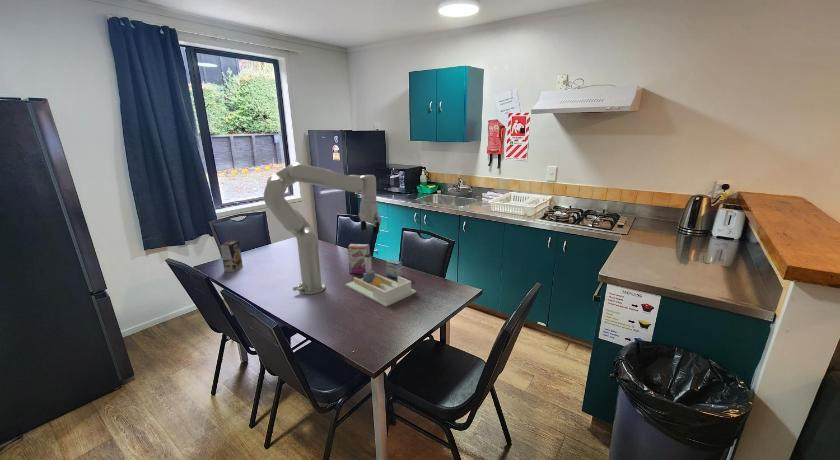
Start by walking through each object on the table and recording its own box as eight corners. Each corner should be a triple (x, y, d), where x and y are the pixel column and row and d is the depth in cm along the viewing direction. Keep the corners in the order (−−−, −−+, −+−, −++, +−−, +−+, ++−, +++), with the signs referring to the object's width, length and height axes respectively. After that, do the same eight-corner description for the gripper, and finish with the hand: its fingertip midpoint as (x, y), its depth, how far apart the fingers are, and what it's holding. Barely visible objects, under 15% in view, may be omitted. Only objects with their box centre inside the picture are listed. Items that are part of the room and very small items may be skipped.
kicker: (366, 283, 178) (365, 256, 174) (362, 282, 180) (361, 254, 176) (375, 280, 182) (374, 253, 178) (371, 278, 185) (370, 252, 180)
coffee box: (235, 271, 198) (230, 245, 193) (224, 271, 198) (219, 245, 193) (243, 265, 206) (239, 240, 202) (232, 265, 206) (228, 240, 202)
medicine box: (386, 276, 191) (385, 261, 189) (390, 273, 195) (390, 259, 193) (398, 278, 188) (397, 264, 186) (402, 276, 192) (402, 261, 189)
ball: (376, 288, 174) (376, 280, 173) (370, 285, 177) (370, 277, 176) (383, 285, 177) (382, 277, 176) (377, 283, 180) (377, 275, 179)
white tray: (385, 306, 158) (385, 295, 157) (345, 285, 180) (344, 275, 178) (416, 292, 172) (416, 281, 170) (375, 274, 193) (375, 264, 192)
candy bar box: (349, 273, 195) (347, 246, 190) (351, 270, 200) (350, 243, 195) (368, 274, 194) (367, 246, 189) (370, 271, 198) (369, 244, 194)
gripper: (352, 198, 178) (353, 229, 183) (374, 202, 167) (375, 236, 172) (363, 196, 184) (364, 227, 188) (385, 200, 173) (386, 233, 177)
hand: (369, 231), depth 180 cm, fingers open, 9 cm apart
